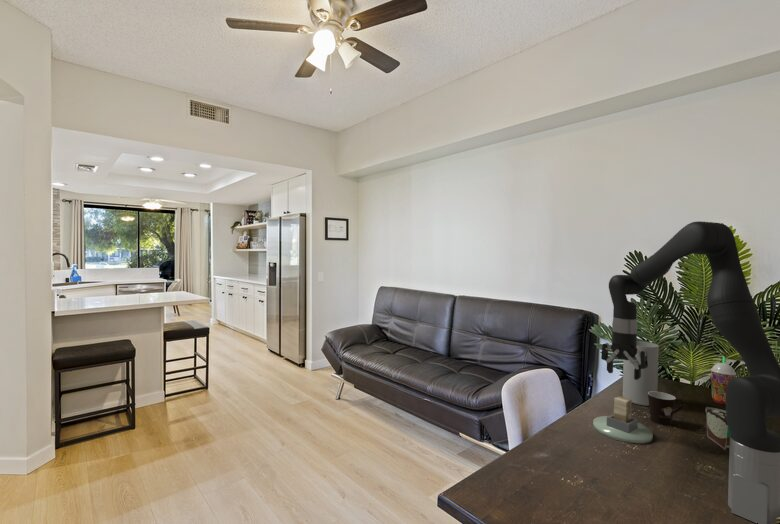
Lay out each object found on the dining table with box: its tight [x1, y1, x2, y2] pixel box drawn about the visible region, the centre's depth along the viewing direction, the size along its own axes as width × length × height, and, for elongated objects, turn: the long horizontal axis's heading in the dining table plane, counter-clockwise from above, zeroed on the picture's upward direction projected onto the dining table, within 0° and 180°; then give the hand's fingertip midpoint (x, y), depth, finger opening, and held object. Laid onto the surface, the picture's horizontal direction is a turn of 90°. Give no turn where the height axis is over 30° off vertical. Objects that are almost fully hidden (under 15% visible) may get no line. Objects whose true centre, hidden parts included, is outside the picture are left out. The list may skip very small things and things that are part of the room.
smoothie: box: [710, 356, 737, 406], centre depth 162 cm, size 8×8×20 cm
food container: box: [705, 406, 730, 451], centre depth 125 cm, size 12×6×10 cm, turn 168°
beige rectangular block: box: [613, 395, 632, 423], centre depth 133 cm, size 4×4×10 cm
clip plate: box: [592, 413, 654, 445], centre depth 133 cm, size 18×18×4 cm
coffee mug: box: [648, 391, 684, 426], centre depth 141 cm, size 12×9×10 cm
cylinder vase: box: [622, 340, 660, 407], centre depth 162 cm, size 12×12×25 cm
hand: (623, 376), depth 133 cm, fingers open, 8 cm apart
